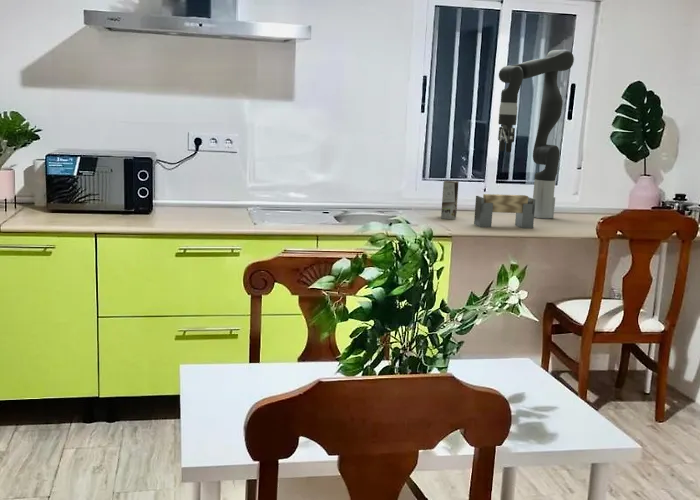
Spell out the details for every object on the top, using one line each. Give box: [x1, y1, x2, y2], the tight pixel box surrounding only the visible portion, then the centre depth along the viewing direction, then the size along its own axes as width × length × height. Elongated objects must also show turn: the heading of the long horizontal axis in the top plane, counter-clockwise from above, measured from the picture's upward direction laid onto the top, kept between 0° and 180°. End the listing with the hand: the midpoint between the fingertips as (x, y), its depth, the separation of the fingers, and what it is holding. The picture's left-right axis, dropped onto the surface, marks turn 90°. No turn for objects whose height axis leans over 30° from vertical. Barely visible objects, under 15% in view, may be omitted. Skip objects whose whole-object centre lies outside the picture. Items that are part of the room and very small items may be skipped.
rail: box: [482, 193, 529, 214], centre depth 314 cm, size 18×4×7 cm, turn 97°
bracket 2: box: [514, 196, 536, 229], centre depth 315 cm, size 5×8×12 cm, turn 7°
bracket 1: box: [473, 195, 493, 228], centre depth 313 cm, size 5×8×12 cm, turn 7°
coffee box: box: [440, 180, 460, 220], centre depth 332 cm, size 9×6×16 cm
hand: (505, 151), depth 327 cm, fingers open, 8 cm apart
